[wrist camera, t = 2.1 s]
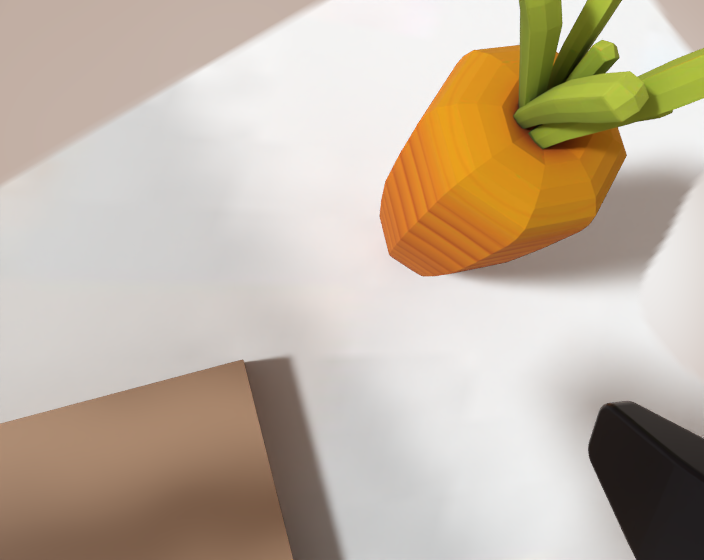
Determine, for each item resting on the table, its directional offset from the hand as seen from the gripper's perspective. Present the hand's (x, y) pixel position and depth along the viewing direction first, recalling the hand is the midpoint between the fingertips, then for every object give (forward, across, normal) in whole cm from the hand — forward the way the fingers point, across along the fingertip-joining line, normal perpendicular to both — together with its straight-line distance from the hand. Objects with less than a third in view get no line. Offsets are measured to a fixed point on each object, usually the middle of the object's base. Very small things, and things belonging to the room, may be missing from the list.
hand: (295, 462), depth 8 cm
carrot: (+15, -6, +4) cm, 17 cm away
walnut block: (+9, +4, +12) cm, 16 cm away
